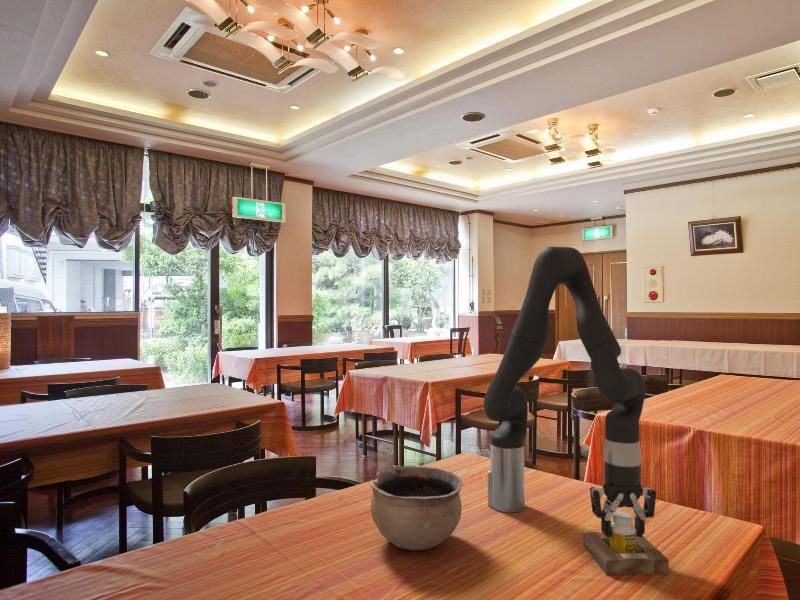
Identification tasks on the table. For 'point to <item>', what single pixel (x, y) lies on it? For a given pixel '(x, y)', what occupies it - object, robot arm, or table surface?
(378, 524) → the ceramic bowl
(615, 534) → the supplement bottle
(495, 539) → the table surface
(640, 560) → the socket holder
